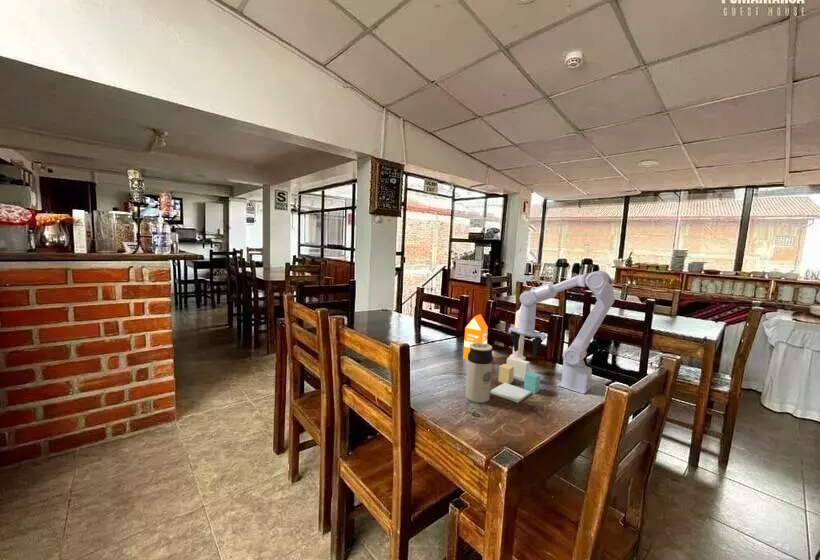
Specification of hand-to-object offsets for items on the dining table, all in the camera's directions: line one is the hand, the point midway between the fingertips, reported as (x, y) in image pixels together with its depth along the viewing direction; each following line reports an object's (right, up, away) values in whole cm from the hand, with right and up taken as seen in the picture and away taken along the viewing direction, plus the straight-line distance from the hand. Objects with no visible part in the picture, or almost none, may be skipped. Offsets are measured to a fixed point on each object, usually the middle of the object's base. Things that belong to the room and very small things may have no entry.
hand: (525, 353), depth 132 cm
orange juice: (-17, -6, +16) cm, 24 cm away
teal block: (-3, -10, -15) cm, 18 cm away
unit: (-4, -9, -3) cm, 10 cm away
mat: (-11, -10, -18) cm, 24 cm away
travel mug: (-24, -10, -23) cm, 35 cm away
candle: (+3, -7, +19) cm, 20 cm away
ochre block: (-10, -9, -8) cm, 16 cm away
